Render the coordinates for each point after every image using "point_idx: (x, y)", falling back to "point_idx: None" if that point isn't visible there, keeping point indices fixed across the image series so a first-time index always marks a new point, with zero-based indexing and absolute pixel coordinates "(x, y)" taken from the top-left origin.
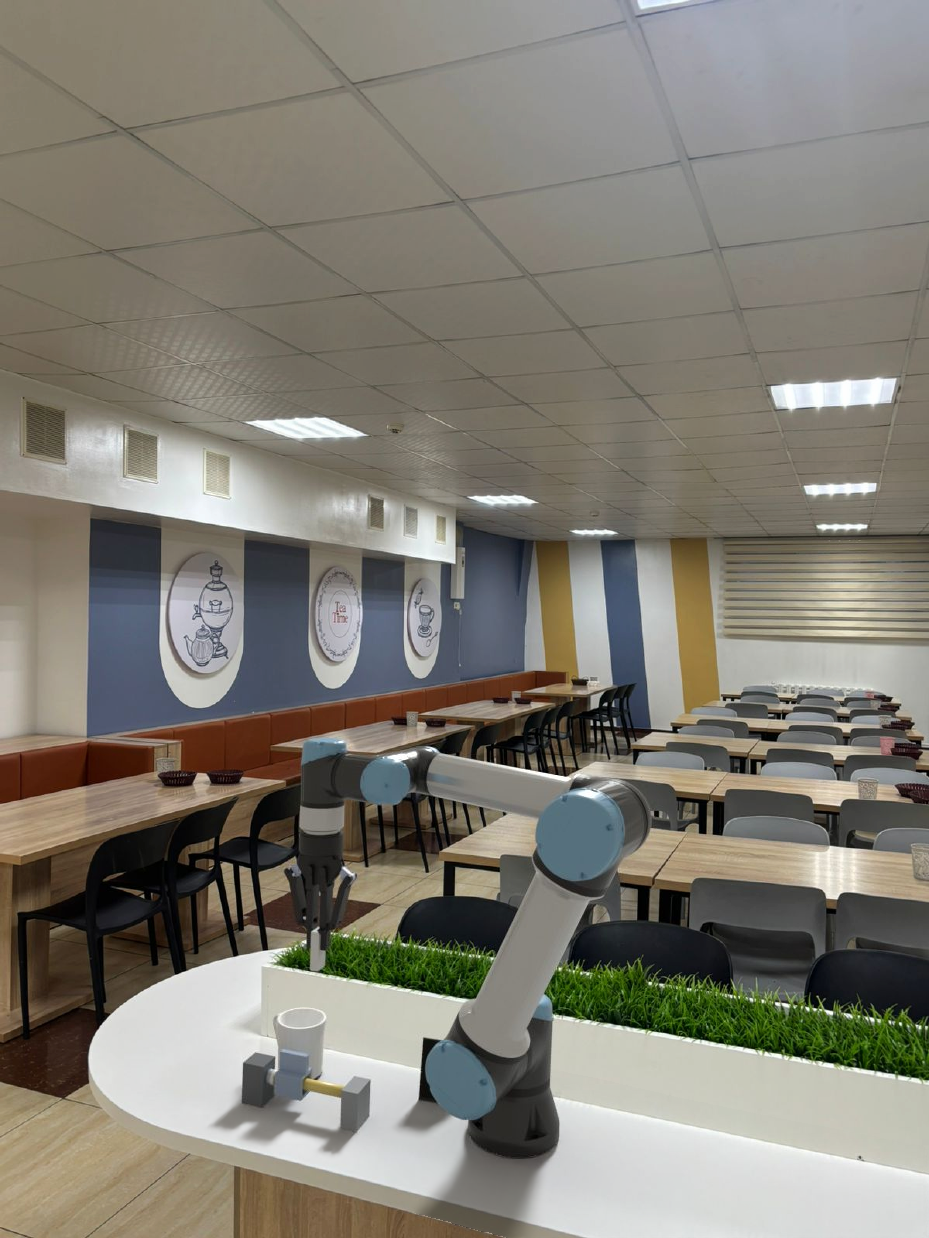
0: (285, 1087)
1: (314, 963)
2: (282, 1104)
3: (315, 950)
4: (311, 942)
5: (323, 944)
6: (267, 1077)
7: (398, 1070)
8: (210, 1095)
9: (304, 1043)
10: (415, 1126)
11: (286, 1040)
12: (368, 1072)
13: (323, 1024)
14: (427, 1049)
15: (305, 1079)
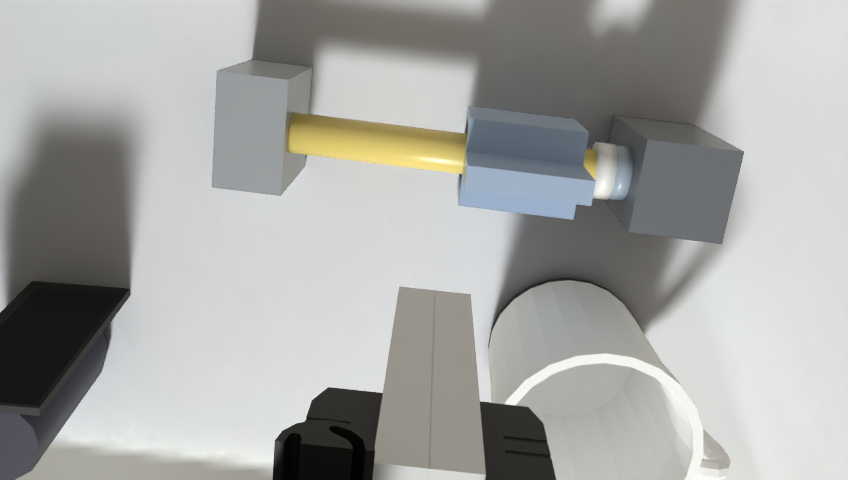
0: (535, 119)
1: (430, 311)
2: None
3: (421, 362)
4: (472, 406)
5: (343, 419)
6: (623, 150)
7: (254, 437)
8: (820, 145)
9: (543, 341)
10: (82, 138)
11: (621, 337)
12: None
13: None
14: (38, 382)
15: None
